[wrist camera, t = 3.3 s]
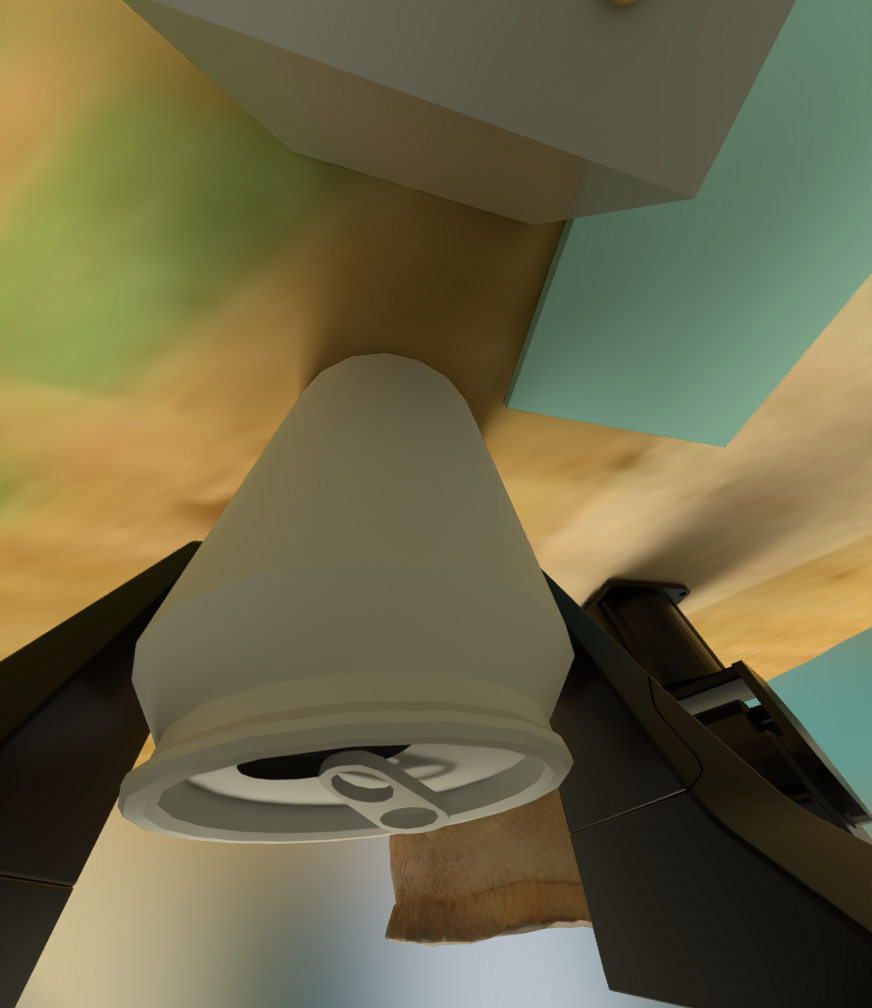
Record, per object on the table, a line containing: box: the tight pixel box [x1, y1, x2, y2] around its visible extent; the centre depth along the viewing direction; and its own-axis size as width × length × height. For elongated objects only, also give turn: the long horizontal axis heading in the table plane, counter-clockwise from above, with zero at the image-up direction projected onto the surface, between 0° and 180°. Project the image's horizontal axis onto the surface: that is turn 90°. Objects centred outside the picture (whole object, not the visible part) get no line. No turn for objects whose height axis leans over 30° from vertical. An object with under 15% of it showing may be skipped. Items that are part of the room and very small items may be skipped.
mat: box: [503, 0, 872, 447], centre depth 11 cm, size 11×11×1 cm
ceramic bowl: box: [385, 787, 593, 946], centre depth 36 cm, size 22×22×15 cm
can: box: [118, 353, 574, 844], centre depth 9 cm, size 8×8×12 cm
